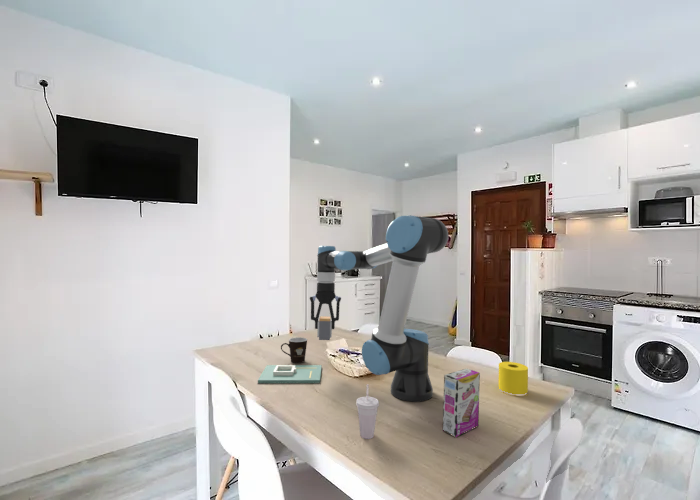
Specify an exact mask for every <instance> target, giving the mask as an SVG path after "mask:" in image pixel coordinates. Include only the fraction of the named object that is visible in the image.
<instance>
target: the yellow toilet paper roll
mask: <svg viewBox="0 0 700 500" xmlns="http://www.w3.org/2000/svg"><path fill="white" fill-rule="evenodd" d="M528 386H529V367H528V366H527V365H525V364H523V363H519V362H514V361H501V362H499V363H498V387H499V389H501V390H502V391H505V392H508V393H512V394H525V393H527V392H529V391H528V390H529V387H528ZM499 389H498V390H499Z"/></svg>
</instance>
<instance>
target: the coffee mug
mask: <svg viewBox="0 0 700 500" xmlns="http://www.w3.org/2000/svg"><path fill="white" fill-rule="evenodd" d="M284 345H287V346H288V347H289V353H288V352H286V351H284V349H283V347H284ZM307 345H308V339H307V337H299V336H298V337H292V338H289V339H288V343H287V342H285V343H282V344H281V345H280V350H281V352H282V353H284V354H285V355H288V356H289V357H290V362H291V363H293V364H302V363H304V362H305V360H306V355H307V354H306V353H307V352H306V351H307Z"/></svg>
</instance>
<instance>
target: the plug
mask: <svg viewBox="0 0 700 500" xmlns="http://www.w3.org/2000/svg"><path fill="white" fill-rule="evenodd" d="M318 321H319V337H318V340H319V341H330V340H331V338H330V321H332V320H331V316H324V315H321V316H320V315H319V319H318Z"/></svg>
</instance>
